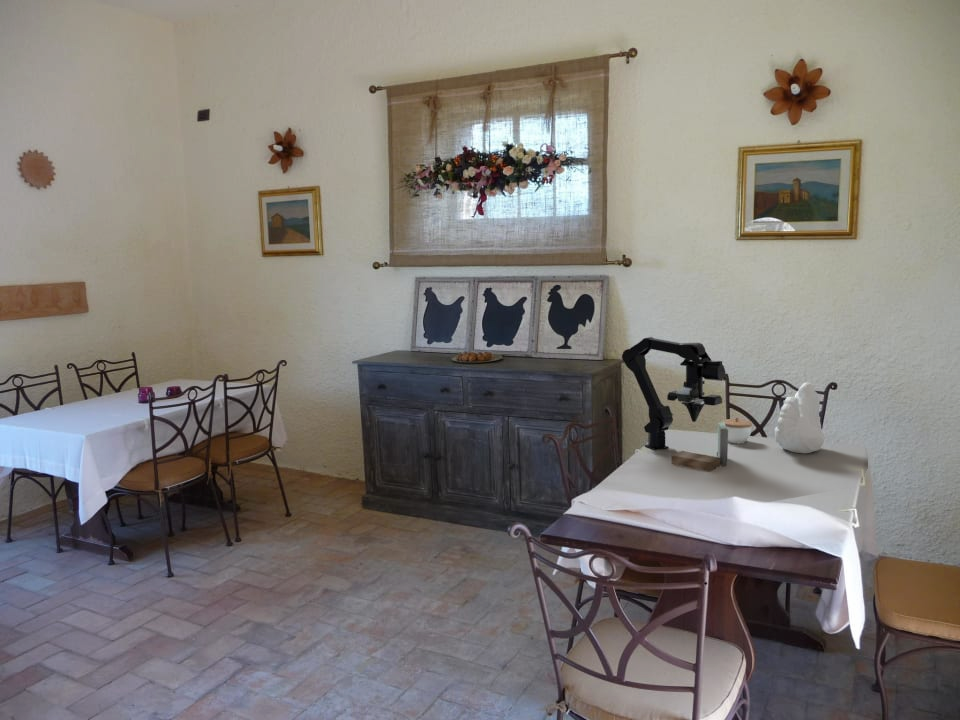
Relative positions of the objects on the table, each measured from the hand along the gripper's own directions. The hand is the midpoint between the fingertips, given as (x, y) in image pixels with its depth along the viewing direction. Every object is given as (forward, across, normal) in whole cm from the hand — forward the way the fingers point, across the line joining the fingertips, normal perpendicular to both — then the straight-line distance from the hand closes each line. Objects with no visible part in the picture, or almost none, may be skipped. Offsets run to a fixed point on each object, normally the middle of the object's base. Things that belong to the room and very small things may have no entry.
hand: (694, 421), depth 254 cm
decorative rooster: (+13, +24, +26) cm, 38 cm away
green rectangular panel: (+12, +12, -2) cm, 17 cm away
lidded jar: (+12, +3, +27) cm, 30 cm away
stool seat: (+12, +7, -12) cm, 19 cm away
